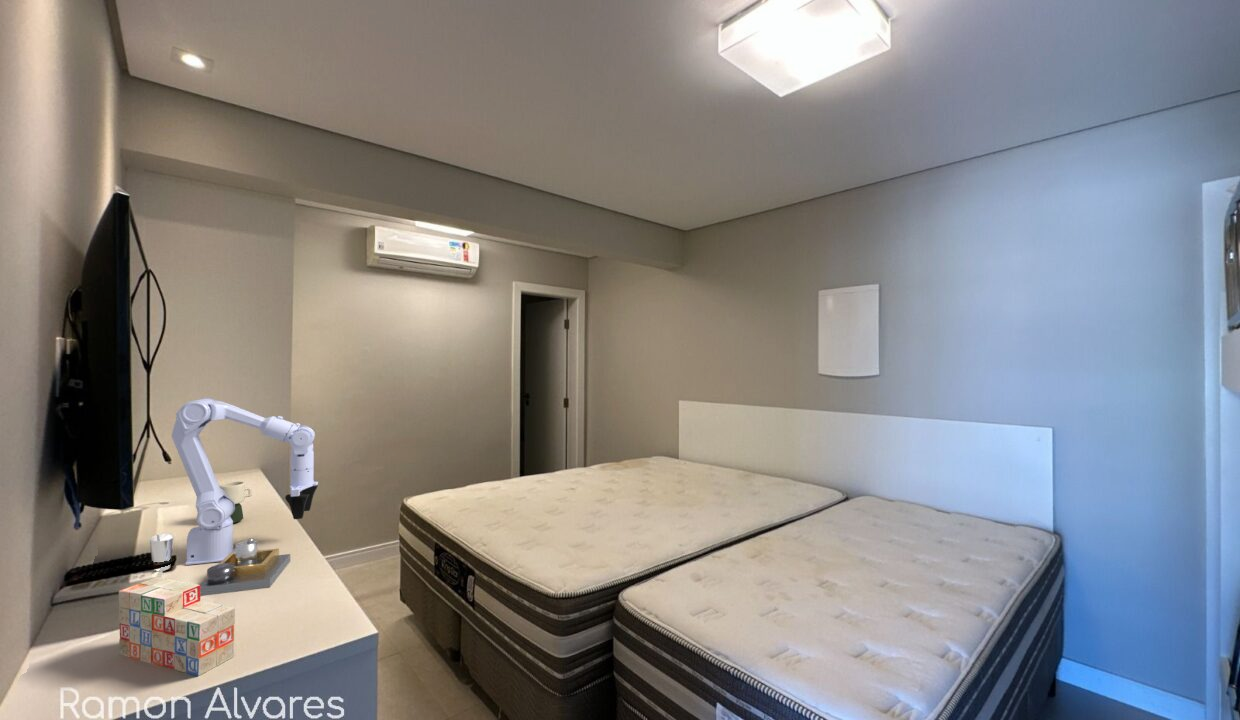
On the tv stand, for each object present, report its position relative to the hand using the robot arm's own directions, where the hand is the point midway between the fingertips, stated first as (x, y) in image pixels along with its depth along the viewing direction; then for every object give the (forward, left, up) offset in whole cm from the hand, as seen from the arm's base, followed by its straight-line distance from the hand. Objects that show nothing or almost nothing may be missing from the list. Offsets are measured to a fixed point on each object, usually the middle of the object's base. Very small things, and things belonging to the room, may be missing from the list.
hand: (301, 514), depth 145 cm
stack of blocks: (-7, -54, -10) cm, 55 cm away
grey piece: (-7, -19, -9) cm, 22 cm away
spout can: (-8, -17, -7) cm, 20 cm away
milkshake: (-30, -7, -10) cm, 32 cm away
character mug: (-28, +31, -10) cm, 43 cm away
